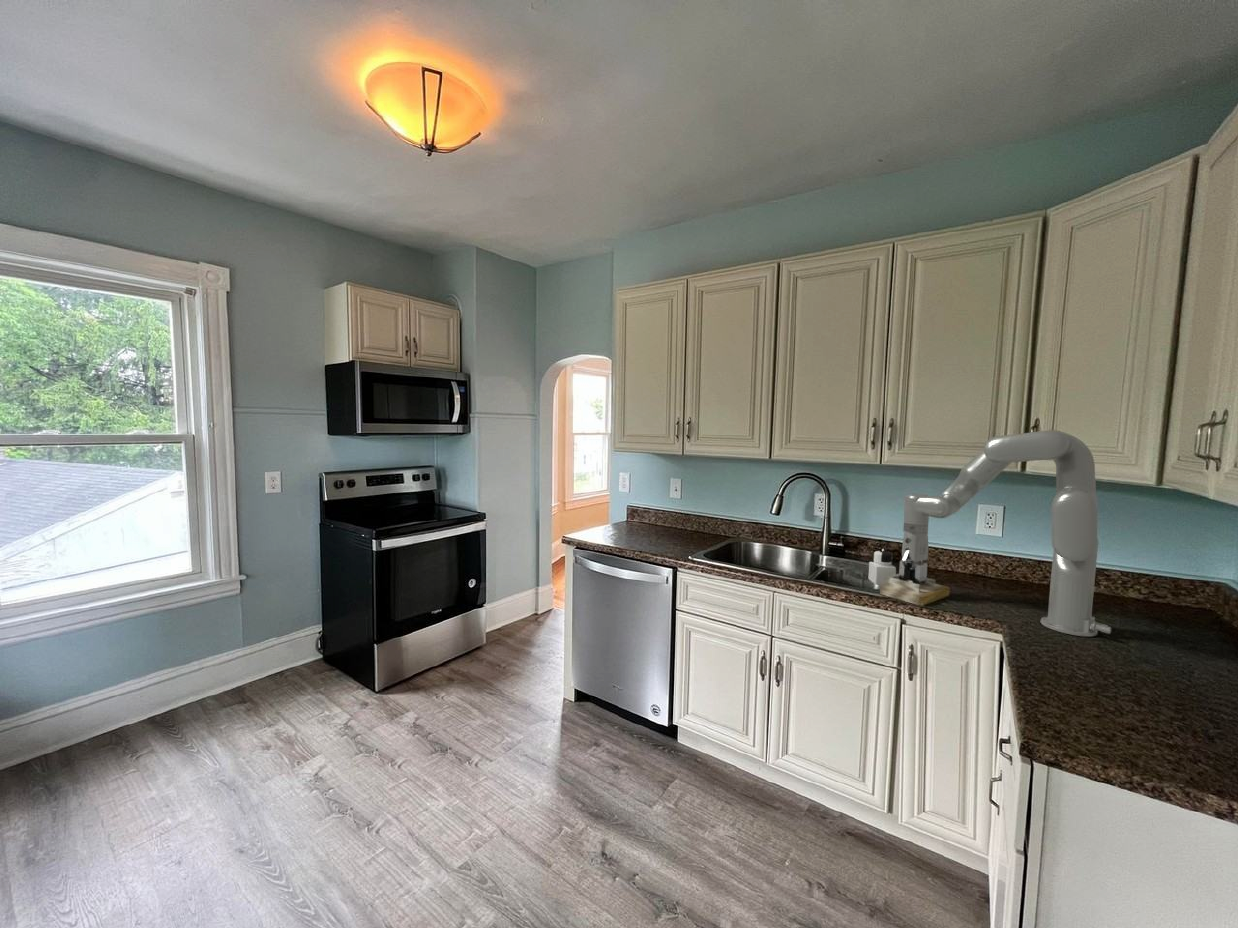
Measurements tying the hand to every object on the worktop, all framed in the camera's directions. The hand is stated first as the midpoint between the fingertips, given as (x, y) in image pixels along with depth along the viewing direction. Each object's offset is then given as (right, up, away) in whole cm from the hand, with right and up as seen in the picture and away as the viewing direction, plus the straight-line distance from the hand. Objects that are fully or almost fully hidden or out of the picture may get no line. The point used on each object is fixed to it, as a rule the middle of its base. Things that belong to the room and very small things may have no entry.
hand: (912, 578), depth 177 cm
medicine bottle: (-4, -5, +14) cm, 15 cm away
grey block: (0, -1, 0) cm, 1 cm away
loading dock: (0, -6, 0) cm, 6 cm away
